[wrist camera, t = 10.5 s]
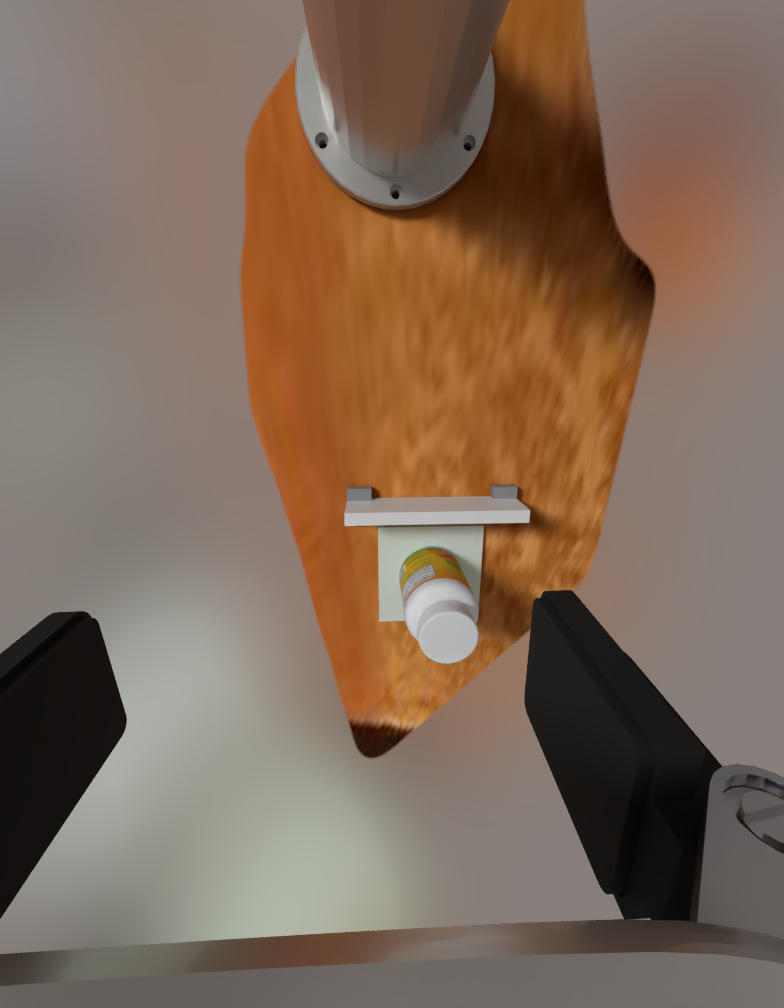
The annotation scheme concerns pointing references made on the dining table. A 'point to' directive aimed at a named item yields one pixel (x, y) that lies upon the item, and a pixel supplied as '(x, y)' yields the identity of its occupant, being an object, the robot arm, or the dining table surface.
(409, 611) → the supplement bottle
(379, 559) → the mat
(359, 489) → the low wall
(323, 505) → the dining table surface
